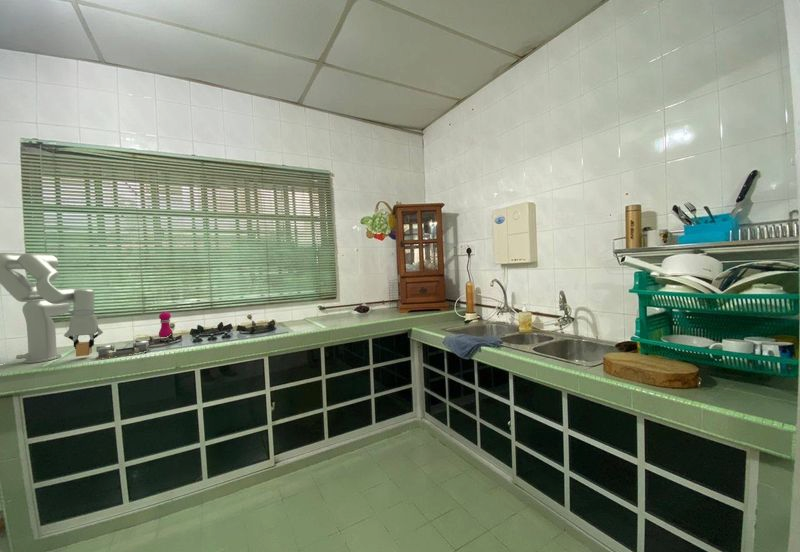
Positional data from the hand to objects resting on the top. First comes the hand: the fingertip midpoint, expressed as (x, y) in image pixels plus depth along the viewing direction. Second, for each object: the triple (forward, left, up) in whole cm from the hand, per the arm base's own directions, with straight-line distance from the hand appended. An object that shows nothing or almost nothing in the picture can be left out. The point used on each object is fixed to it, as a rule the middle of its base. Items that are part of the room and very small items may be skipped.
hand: (83, 347), depth 158 cm
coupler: (0, 0, -4) cm, 4 cm away
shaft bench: (+16, -4, -6) cm, 18 cm away
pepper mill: (+32, +23, -6) cm, 40 cm away
